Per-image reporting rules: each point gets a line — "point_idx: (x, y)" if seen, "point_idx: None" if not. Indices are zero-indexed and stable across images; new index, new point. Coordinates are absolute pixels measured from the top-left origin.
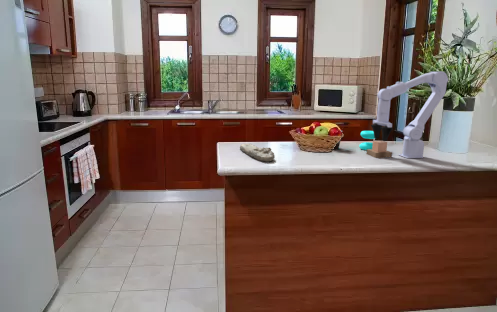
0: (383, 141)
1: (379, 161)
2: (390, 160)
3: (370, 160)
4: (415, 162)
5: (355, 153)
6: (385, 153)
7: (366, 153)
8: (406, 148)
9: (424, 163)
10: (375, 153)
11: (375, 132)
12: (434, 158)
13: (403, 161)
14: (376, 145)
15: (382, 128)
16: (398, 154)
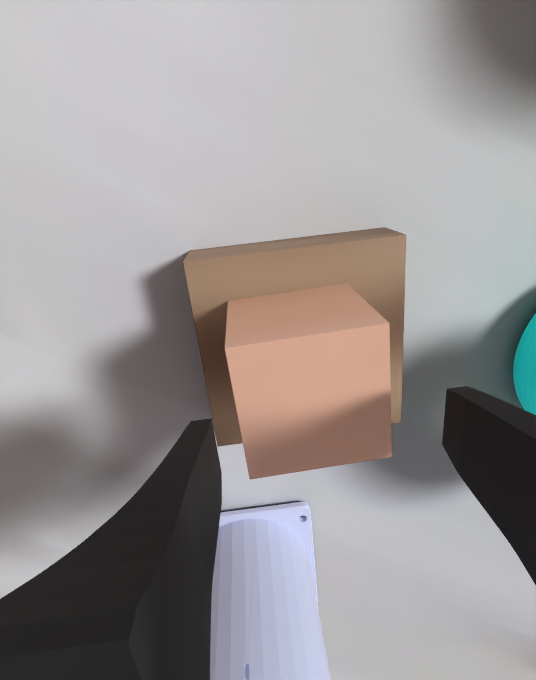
0: (309, 451)
1: (8, 219)
2: (83, 356)
3: (39, 124)
4: (42, 520)
5: (428, 89)
6: (205, 375)
7: (385, 228)
8: (216, 591)
9: (21, 562)
10: (194, 259)
11: (518, 451)
12: None
13: (62, 449)
14: (270, 320)
15: (33, 609)
16: (302, 504)
